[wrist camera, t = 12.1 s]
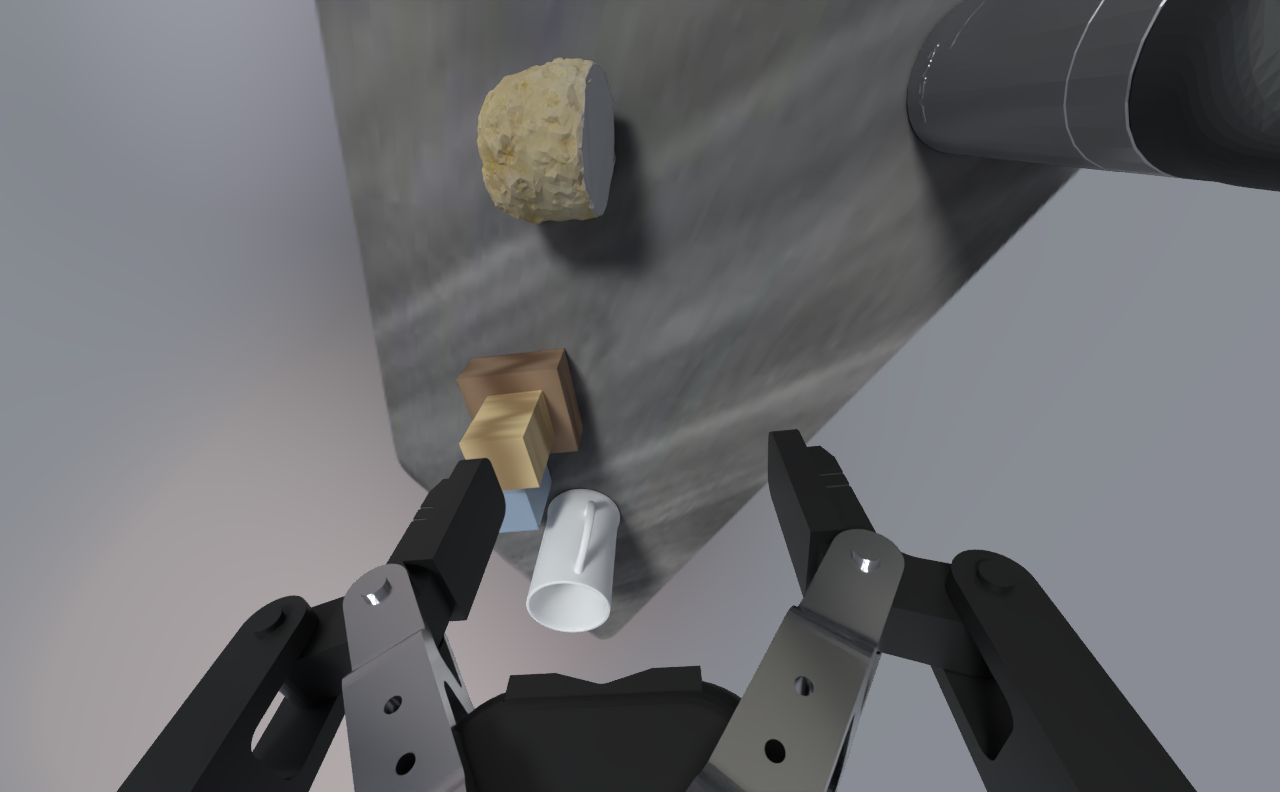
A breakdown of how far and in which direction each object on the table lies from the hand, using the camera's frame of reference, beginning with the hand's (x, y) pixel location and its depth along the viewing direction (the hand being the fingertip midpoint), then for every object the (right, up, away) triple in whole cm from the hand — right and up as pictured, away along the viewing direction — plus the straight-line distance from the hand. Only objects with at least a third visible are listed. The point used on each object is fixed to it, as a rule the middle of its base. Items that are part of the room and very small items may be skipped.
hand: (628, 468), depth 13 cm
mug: (-6, -11, +40) cm, 42 cm away
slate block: (-12, -6, +37) cm, 39 cm away
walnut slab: (-11, +2, +32) cm, 34 cm away
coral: (-5, +21, +21) cm, 30 cm away
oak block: (-10, 0, +28) cm, 30 cm away
